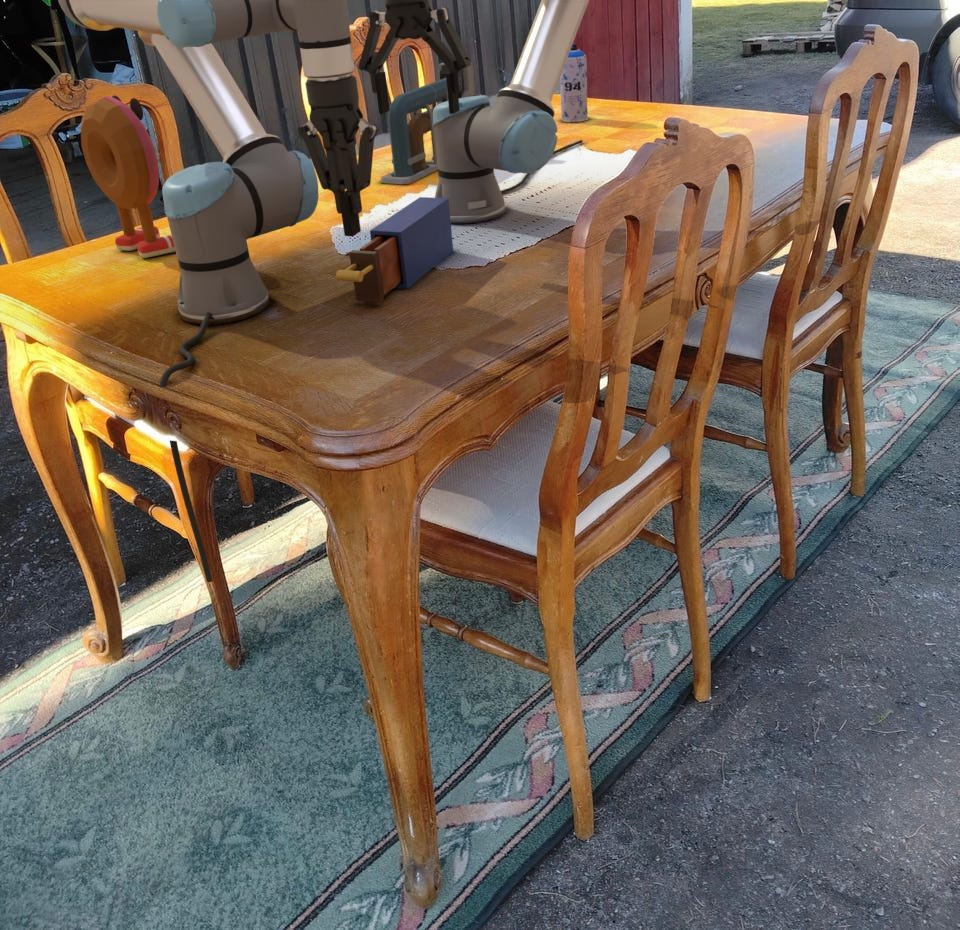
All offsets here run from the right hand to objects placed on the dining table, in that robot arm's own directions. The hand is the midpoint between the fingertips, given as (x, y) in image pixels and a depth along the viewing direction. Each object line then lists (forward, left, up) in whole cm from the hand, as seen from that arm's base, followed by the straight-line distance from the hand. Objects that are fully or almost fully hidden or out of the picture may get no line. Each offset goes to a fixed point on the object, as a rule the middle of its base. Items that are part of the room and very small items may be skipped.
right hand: (419, 112), depth 169 cm
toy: (0, -62, -26) cm, 67 cm away
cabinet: (+7, -1, -26) cm, 27 cm away
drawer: (+19, -2, -25) cm, 32 cm away
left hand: (+28, -3, -13) cm, 31 cm away
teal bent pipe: (-66, -23, -26) cm, 75 cm away
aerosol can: (-118, +4, -26) cm, 121 cm away
